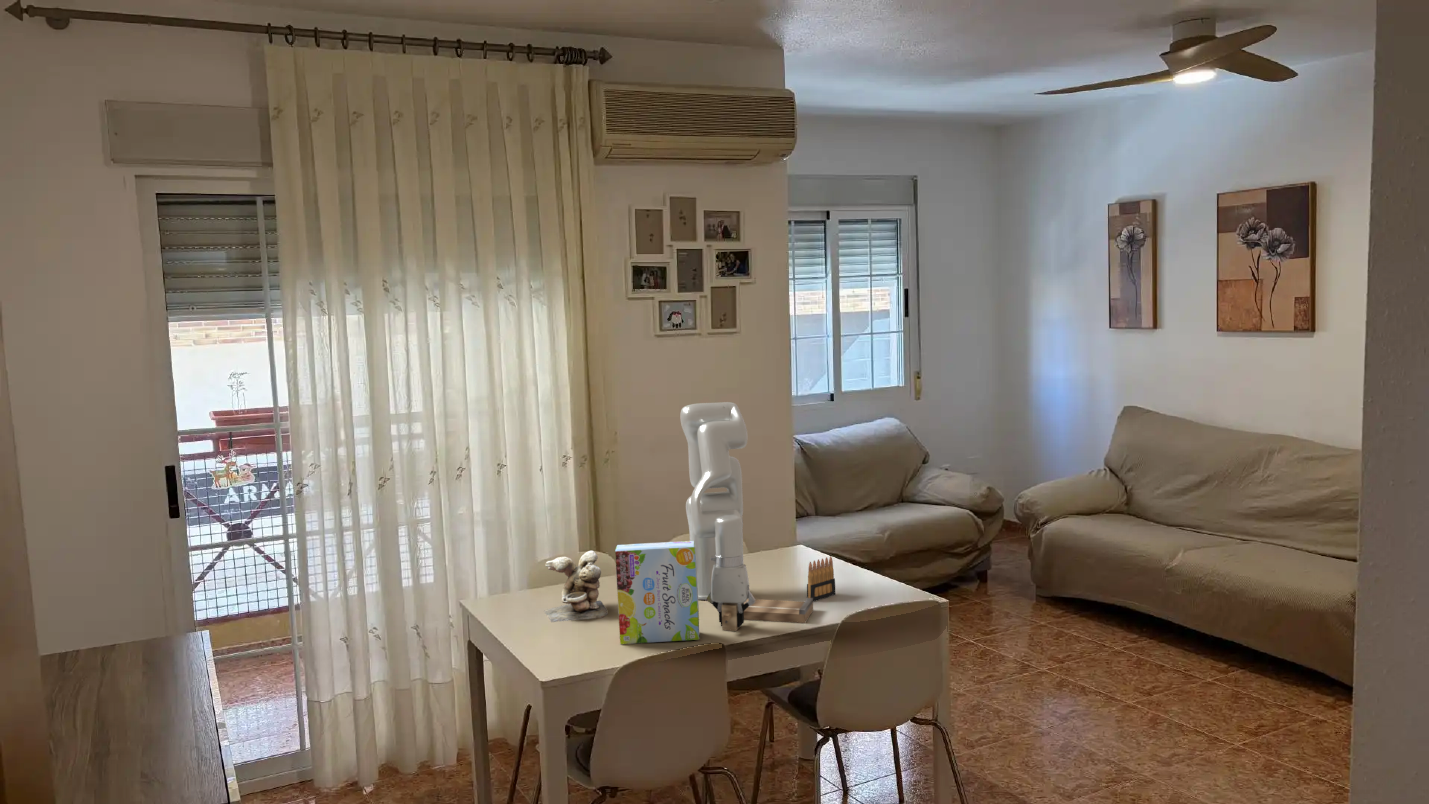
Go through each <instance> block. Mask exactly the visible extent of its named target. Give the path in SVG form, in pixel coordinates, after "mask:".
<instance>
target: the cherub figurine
mask: <svg viewBox="0 0 1429 804" xmlns="http://www.w3.org/2000/svg"><path fill="white" fill-rule="evenodd" d="M597 561H598V554H597V552H595V551H594V550H588V551H586V552H584V554H582V555H581V557H580V558H579V560H578V565H576V563H575V562H574V560H572V558H570V557H567V556H559V557H556V558H554V559H552V560H547V561H546V562H545V564H544V565H545V567H547V568H548V570H550V571H555V572H556V573H561V574H563V573H564V575H565V576H566V577H567V579H566V581H565V583H564V585H563V588H562V591H561V602H562V603H563V604H565V605H560V606H556V607H551V608H547V609H546V610H544V611H543V612H544V614H545V615H546V616H547V618H548V620H549V621H550V623H557V622H564V621H565V622H566V621H576V620H577V621H578V620H590V619H598V618H600V619H602V618H604V617H605V616H608V613H609V611H608V609H607V607H606V606H605V605H604V603H603V602H602V601H601V600H598V598H599V595H600V592H599V588H600V587H601V585H600V583H601V582H600V578H601V576H602V570H601V568H600V567H599V566H597V564H595V563H596V562H597Z"/></svg>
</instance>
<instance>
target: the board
mask: <svg viewBox="0 0 1429 804" xmlns="http://www.w3.org/2000/svg"><path fill="white" fill-rule="evenodd" d="M755 600H756V602H755V603H754V604H752V605H751V606H749V607H748V608H746V609H745V610H744V621H746V620H749V621H764V622H767V621H768V622H770V621H771V622H782V623H783V622H784V623H800V624H806V622H807V621H808V619H809V618H810V616H812V615H811V614H812V613H813V611H814V601H813V598H807V597H806V600H805V601H794V600H775V599H762V598H761V599H758V598H755ZM748 601H749V599H747V601H746V602H748ZM746 602H744V604H745V603H746Z"/></svg>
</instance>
